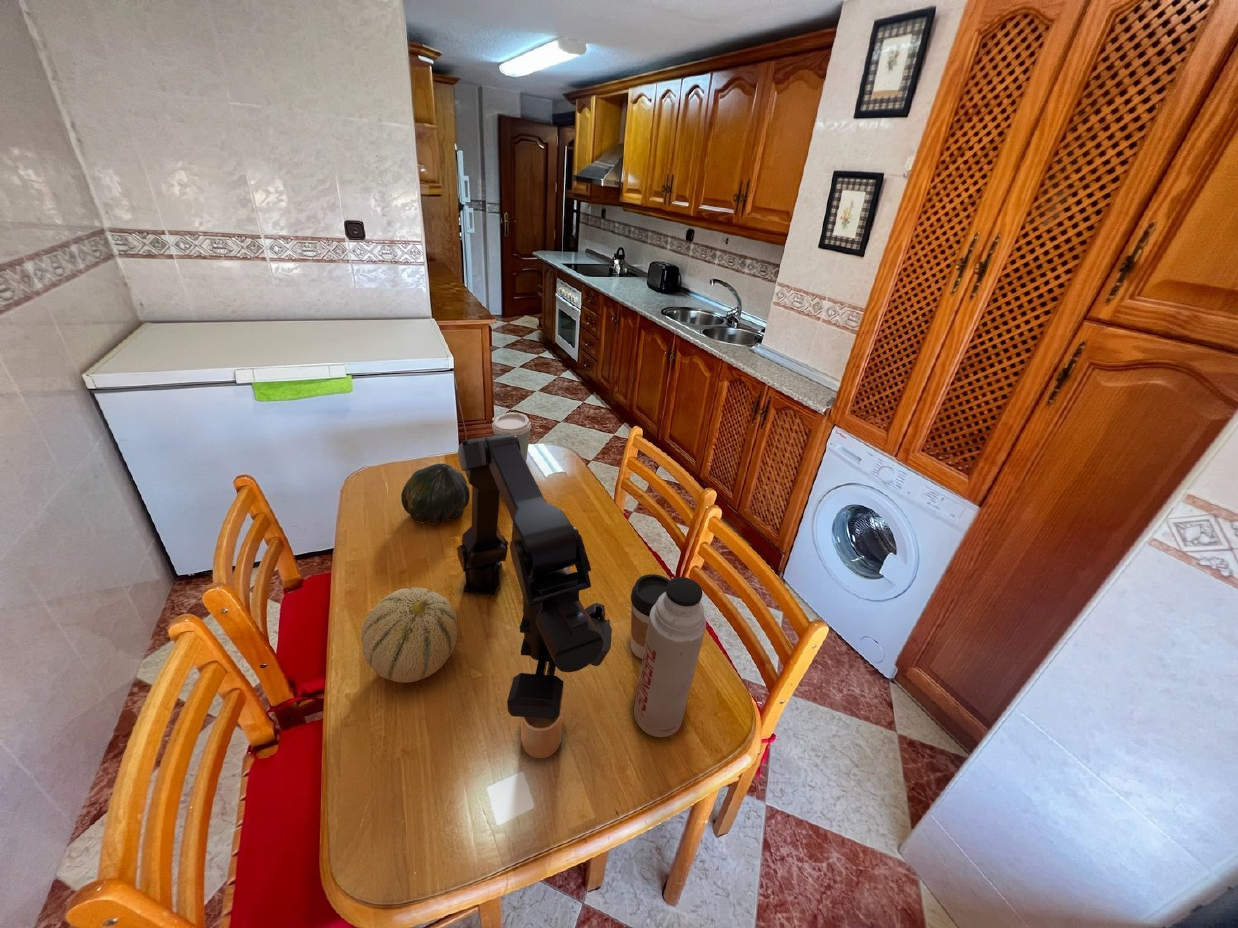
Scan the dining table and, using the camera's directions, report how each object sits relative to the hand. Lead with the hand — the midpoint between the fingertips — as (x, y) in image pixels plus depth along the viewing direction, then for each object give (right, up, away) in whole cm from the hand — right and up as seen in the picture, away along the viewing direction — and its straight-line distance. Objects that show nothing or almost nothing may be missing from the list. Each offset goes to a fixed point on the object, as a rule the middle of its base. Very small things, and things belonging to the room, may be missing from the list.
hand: (546, 688), depth 70 cm
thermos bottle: (+17, -9, +11) cm, 22 cm away
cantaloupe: (-25, -2, +15) cm, 29 cm away
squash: (-34, +20, +51) cm, 64 cm away
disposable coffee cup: (-20, +31, +72) cm, 81 cm away
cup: (-2, -10, +6) cm, 12 cm away
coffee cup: (+15, -2, +22) cm, 27 cm away
